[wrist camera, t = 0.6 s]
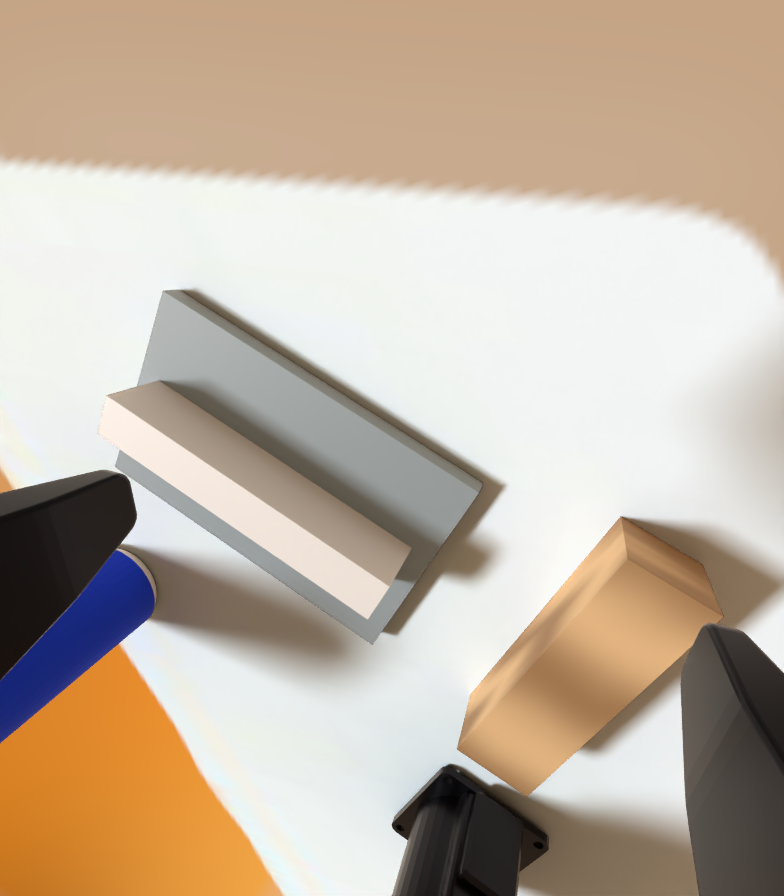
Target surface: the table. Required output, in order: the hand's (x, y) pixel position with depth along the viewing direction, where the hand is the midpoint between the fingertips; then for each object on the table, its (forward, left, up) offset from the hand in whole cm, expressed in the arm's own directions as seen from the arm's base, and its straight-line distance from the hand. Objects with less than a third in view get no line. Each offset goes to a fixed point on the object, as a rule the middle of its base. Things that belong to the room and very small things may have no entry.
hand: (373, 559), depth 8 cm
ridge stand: (-9, +6, -14) cm, 18 cm away
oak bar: (-8, -9, -14) cm, 18 cm away
